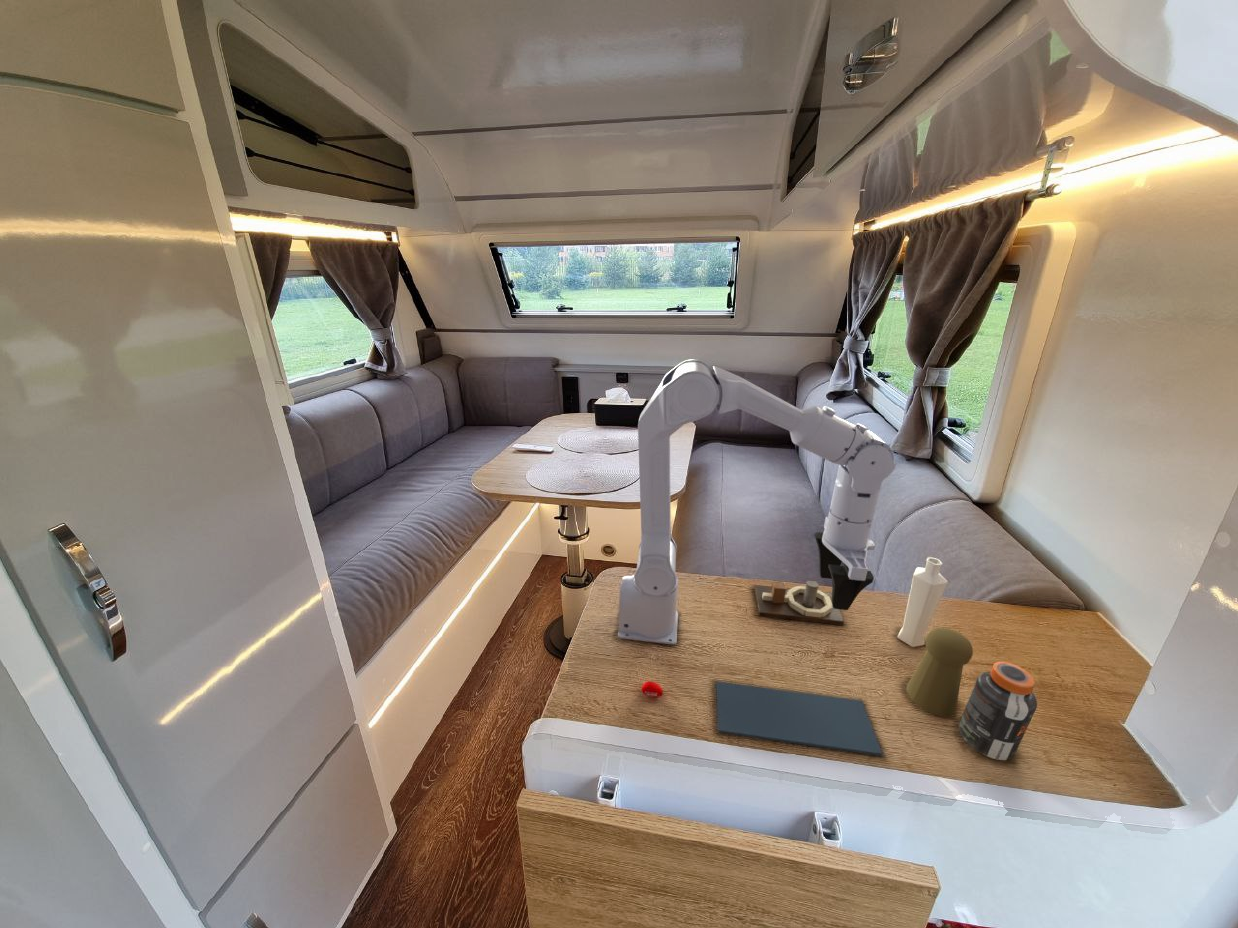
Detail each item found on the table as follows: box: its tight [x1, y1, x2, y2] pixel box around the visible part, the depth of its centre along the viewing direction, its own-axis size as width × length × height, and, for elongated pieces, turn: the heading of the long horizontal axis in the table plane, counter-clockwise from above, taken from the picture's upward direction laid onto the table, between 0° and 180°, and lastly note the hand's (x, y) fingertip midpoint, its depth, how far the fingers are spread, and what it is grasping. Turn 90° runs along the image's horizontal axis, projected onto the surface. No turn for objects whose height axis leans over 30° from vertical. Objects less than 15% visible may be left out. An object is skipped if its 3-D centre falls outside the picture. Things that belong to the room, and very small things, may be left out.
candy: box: [641, 680, 664, 698], centre depth 66 cm, size 3×2×2 cm, turn 83°
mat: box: [715, 681, 884, 757], centre depth 63 cm, size 20×8×1 cm, turn 81°
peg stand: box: [753, 580, 845, 626], centre depth 84 cm, size 14×8×5 cm, turn 81°
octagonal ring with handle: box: [762, 581, 833, 617], centre depth 84 cm, size 12×7×3 cm, turn 81°
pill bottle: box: [958, 661, 1038, 761], centre depth 59 cm, size 6×6×11 cm
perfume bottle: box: [897, 556, 949, 648], centre depth 75 cm, size 5×4×15 cm
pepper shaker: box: [905, 627, 974, 717], centre depth 65 cm, size 6×6×11 cm
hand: (833, 591), depth 73 cm, fingers open, 7 cm apart
